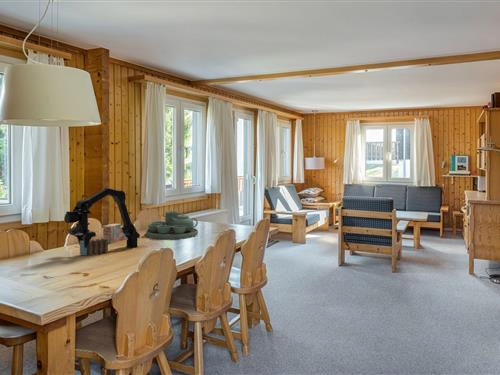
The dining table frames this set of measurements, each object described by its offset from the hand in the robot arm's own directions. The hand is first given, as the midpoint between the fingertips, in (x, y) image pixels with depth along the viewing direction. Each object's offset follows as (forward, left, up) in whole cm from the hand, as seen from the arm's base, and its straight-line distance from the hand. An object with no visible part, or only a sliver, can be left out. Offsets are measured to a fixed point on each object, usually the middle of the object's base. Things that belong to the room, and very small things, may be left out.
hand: (83, 247), depth 261 cm
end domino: (0, 0, -4) cm, 4 cm away
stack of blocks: (-19, -43, -5) cm, 48 cm away
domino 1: (-3, -2, -5) cm, 6 cm away
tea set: (-61, -61, -6) cm, 86 cm away
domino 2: (-6, -4, -5) cm, 9 cm away
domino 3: (-9, -6, -5) cm, 12 cm away
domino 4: (-12, -8, -5) cm, 15 cm away
